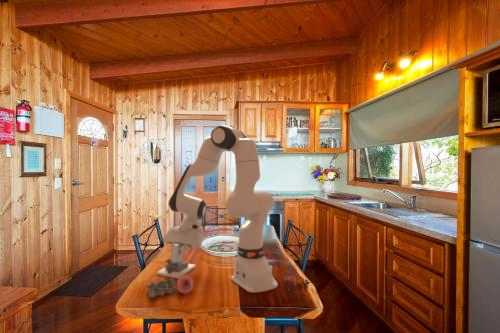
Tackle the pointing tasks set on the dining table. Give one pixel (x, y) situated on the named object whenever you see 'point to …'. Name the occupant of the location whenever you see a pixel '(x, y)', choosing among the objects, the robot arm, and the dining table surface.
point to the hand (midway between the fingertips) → (176, 253)
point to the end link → (176, 254)
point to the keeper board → (175, 269)
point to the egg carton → (156, 287)
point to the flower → (185, 284)
